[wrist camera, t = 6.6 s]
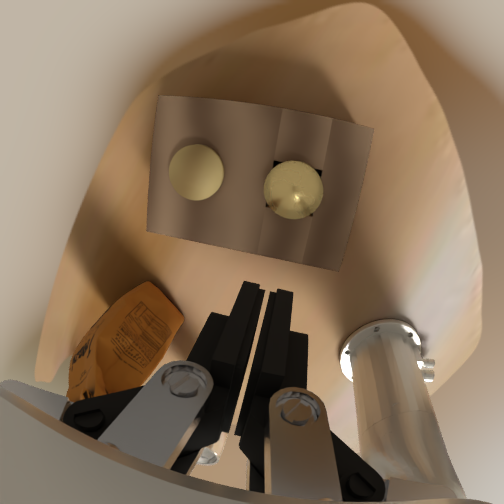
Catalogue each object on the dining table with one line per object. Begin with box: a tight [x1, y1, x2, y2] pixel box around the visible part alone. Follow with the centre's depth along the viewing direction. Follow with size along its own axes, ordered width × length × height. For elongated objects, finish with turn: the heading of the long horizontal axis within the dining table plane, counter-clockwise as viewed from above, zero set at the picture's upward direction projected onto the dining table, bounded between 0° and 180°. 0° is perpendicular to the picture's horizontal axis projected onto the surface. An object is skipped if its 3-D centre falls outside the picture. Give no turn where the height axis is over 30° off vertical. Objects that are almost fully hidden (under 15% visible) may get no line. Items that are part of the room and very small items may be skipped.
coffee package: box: [66, 281, 184, 402], centre depth 36 cm, size 10×12×22 cm
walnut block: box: [146, 95, 374, 272], centre depth 31 cm, size 20×14×9 cm
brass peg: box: [264, 160, 323, 219], centre depth 30 cm, size 5×5×8 cm
